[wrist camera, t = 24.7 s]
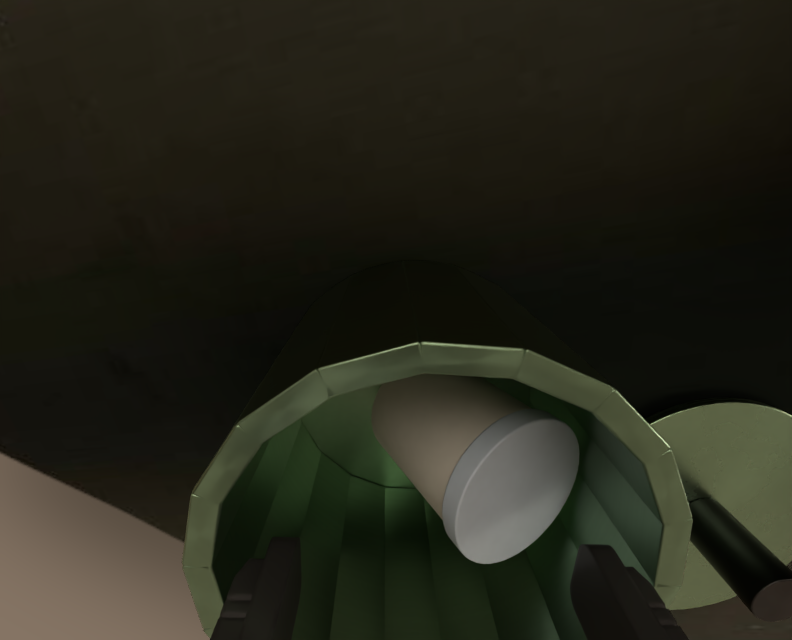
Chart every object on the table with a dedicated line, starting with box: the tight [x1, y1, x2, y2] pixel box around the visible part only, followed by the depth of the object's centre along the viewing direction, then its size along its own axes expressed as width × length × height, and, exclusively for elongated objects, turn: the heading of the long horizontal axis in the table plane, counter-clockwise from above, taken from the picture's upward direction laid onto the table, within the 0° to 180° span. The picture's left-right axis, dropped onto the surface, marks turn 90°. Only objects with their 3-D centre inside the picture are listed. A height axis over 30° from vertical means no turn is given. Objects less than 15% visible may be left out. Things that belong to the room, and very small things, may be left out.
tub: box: [371, 373, 579, 564], centre depth 17 cm, size 6×6×7 cm
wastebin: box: [182, 260, 693, 640], centre depth 16 cm, size 14×14×11 cm
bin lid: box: [644, 397, 792, 622], centre depth 21 cm, size 15×15×6 cm
